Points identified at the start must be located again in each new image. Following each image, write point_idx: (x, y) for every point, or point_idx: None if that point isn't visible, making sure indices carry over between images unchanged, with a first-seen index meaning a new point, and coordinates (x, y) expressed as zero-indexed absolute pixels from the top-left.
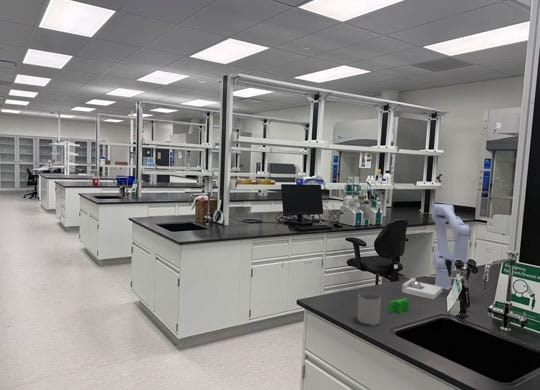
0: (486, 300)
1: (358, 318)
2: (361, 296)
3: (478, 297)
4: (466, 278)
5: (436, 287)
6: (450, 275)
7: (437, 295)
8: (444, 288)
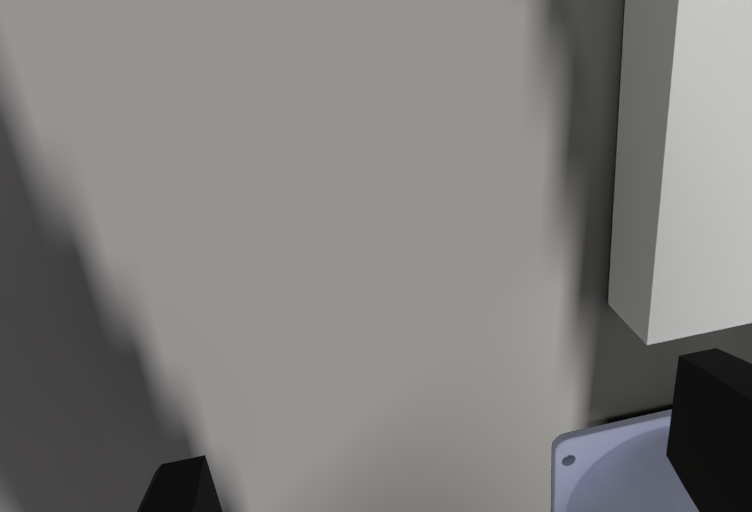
0: (12, 466)
1: None
2: None
3: None
4: (182, 483)
5: (727, 240)
6: (688, 416)
7: (632, 3)
8: (611, 428)
